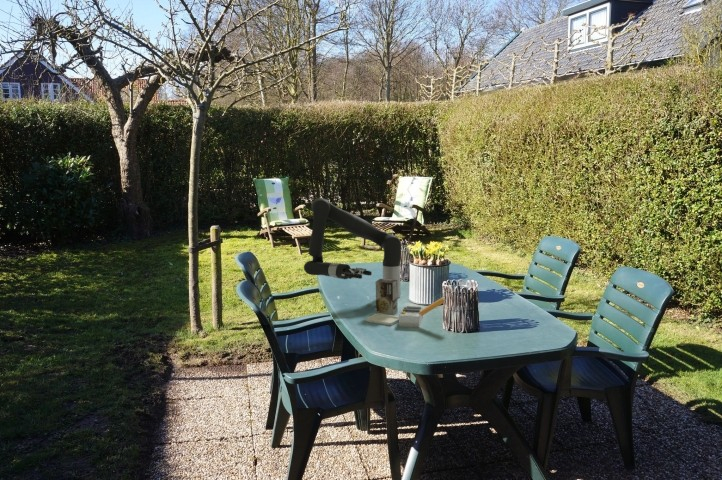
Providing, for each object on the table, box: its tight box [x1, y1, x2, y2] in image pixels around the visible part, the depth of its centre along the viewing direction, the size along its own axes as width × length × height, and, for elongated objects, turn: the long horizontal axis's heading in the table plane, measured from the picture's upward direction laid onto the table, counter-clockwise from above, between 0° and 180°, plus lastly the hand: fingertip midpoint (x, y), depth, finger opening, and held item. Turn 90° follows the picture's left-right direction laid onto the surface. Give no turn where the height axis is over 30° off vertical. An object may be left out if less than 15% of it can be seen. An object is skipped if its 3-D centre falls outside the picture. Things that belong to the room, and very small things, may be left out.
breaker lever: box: [420, 296, 445, 317], centre depth 251 cm, size 3×2×16 cm
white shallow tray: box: [365, 312, 399, 327], centre depth 261 cm, size 11×14×1 cm
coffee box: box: [375, 278, 399, 316], centre depth 271 cm, size 9×6×16 cm
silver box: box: [398, 305, 424, 328], centre depth 257 cm, size 14×9×6 cm, turn 167°
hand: (366, 274), depth 276 cm, fingers open, 8 cm apart
